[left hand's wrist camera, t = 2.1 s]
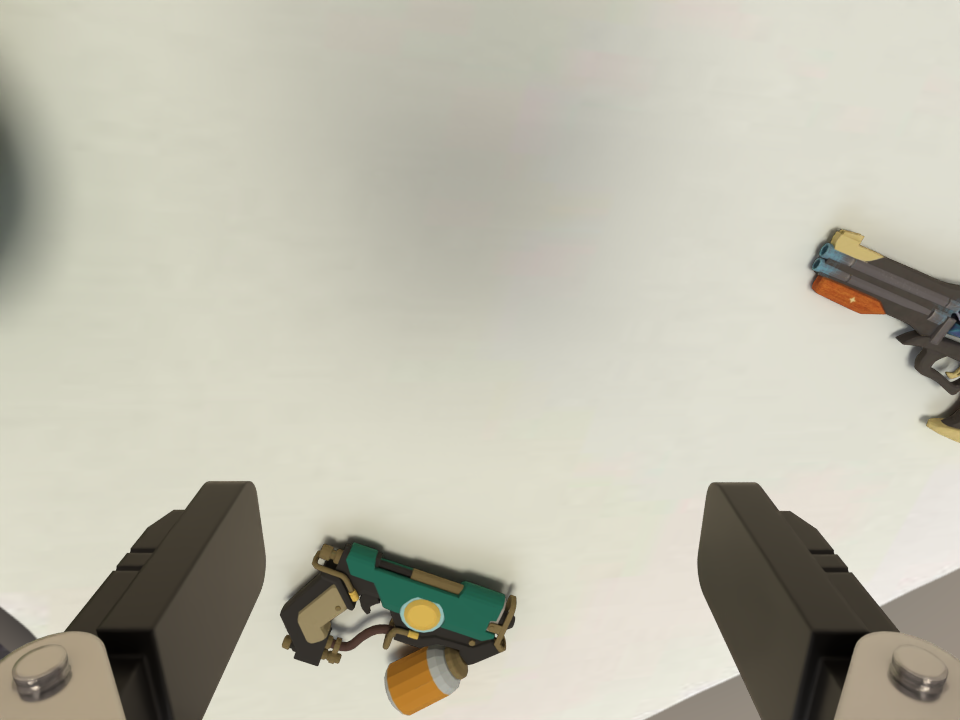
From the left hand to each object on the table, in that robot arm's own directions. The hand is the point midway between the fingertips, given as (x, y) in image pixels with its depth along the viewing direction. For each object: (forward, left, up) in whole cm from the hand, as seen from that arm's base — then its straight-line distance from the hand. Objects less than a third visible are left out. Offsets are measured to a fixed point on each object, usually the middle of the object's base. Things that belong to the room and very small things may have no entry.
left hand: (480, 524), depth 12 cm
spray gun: (+31, -7, -33) cm, 46 cm away
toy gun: (+8, +30, -33) cm, 45 cm away
